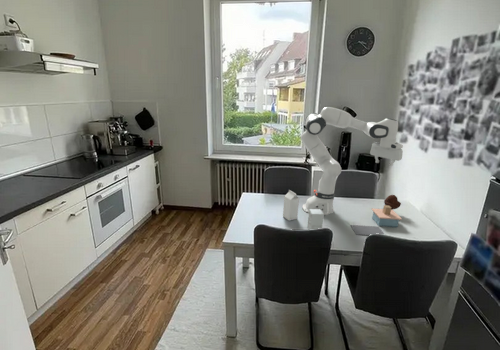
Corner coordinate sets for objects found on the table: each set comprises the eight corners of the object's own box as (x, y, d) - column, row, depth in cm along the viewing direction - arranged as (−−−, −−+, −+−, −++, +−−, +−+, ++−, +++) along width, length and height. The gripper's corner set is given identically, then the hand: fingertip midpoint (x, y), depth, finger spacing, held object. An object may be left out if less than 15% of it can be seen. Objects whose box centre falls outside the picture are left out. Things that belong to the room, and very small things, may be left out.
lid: (379, 218, 180) (381, 210, 178) (371, 209, 193) (373, 201, 192) (401, 219, 179) (403, 211, 178) (392, 210, 193) (393, 203, 191)
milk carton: (288, 220, 185) (291, 194, 179) (282, 216, 190) (284, 190, 185) (297, 219, 188) (300, 192, 182) (291, 214, 194) (293, 189, 188)
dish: (378, 226, 183) (380, 217, 181) (372, 217, 194) (373, 210, 192) (397, 227, 182) (399, 219, 180) (389, 219, 194) (391, 211, 192)
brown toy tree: (400, 218, 196) (404, 198, 192) (383, 216, 198) (387, 196, 194) (396, 211, 206) (400, 193, 202) (380, 210, 208) (383, 191, 204)
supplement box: (318, 227, 178) (320, 209, 174) (321, 232, 171) (324, 214, 167) (307, 226, 178) (309, 208, 174) (309, 232, 170) (311, 213, 167)
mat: (356, 234, 170) (356, 233, 170) (350, 225, 182) (350, 224, 181) (385, 236, 169) (386, 235, 169) (378, 227, 181) (378, 226, 181)
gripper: (370, 141, 187) (366, 161, 191) (400, 146, 171) (396, 168, 175) (375, 140, 190) (372, 160, 194) (405, 146, 174) (401, 167, 179)
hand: (383, 164), depth 185 cm, fingers open, 8 cm apart
